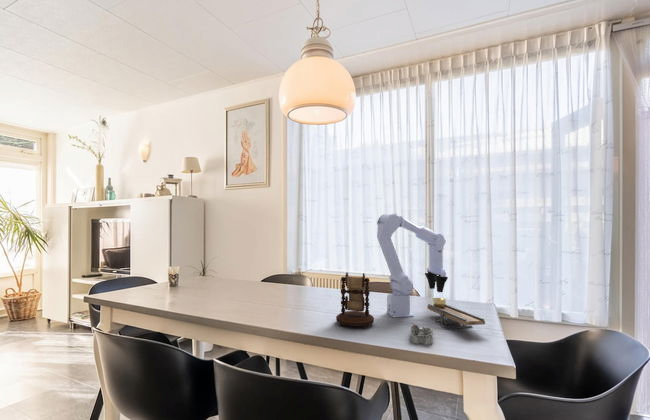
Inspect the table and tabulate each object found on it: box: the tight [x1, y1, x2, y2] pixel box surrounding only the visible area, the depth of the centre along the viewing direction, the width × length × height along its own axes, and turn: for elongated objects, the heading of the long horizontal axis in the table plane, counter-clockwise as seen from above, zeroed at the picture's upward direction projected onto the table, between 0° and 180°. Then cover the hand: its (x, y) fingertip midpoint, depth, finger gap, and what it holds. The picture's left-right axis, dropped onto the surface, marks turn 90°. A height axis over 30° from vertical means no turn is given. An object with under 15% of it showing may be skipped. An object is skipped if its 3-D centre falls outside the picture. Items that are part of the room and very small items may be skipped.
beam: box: [427, 303, 486, 326], centre depth 126 cm, size 8×28×2 cm, turn 8°
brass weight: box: [432, 297, 447, 308], centre depth 137 cm, size 5×5×4 cm
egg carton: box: [409, 322, 434, 345], centre depth 110 cm, size 11×8×4 cm
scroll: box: [335, 272, 375, 329], centre depth 127 cm, size 15×15×20 cm
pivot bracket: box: [434, 313, 473, 330], centre depth 126 cm, size 11×8×4 cm
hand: (435, 290), depth 145 cm, fingers open, 7 cm apart
